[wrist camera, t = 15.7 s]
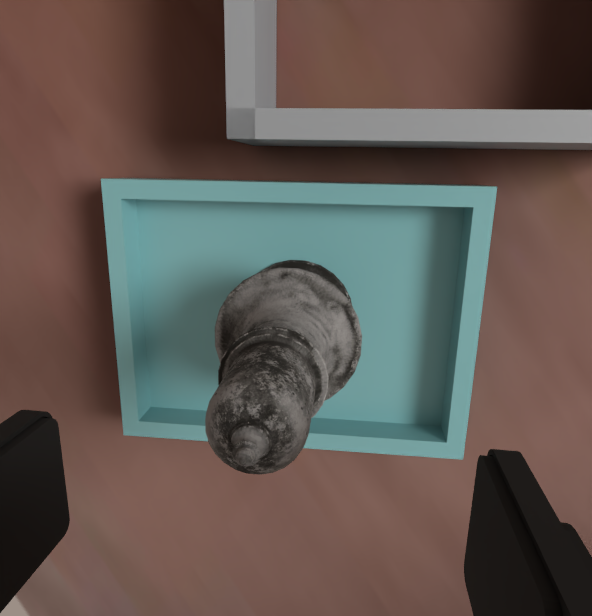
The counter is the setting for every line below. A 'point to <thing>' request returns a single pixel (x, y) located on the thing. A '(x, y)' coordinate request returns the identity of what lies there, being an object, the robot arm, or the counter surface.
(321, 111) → the deep rectangular frame
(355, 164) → the counter surface
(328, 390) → the grey stone turned piece
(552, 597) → the robot arm
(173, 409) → the tray
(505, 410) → the counter surface
